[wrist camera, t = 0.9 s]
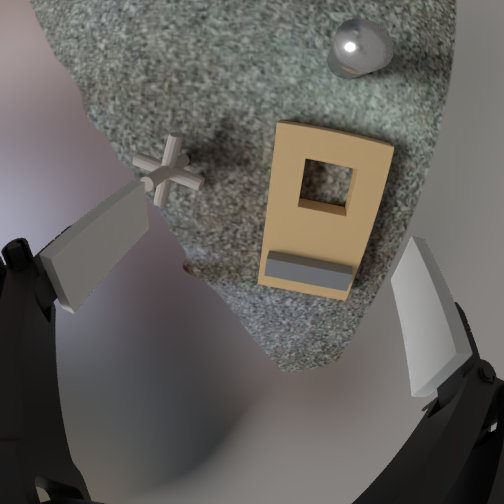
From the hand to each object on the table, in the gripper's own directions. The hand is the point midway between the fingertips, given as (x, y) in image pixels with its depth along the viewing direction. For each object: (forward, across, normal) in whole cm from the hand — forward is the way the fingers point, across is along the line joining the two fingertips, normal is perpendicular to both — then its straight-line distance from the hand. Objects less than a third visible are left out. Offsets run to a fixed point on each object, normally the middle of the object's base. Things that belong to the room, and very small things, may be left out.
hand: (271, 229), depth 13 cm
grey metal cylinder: (+24, +4, +11) cm, 27 cm away
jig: (+24, +5, -10) cm, 26 cm away
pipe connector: (+24, -16, -6) cm, 29 cm away
